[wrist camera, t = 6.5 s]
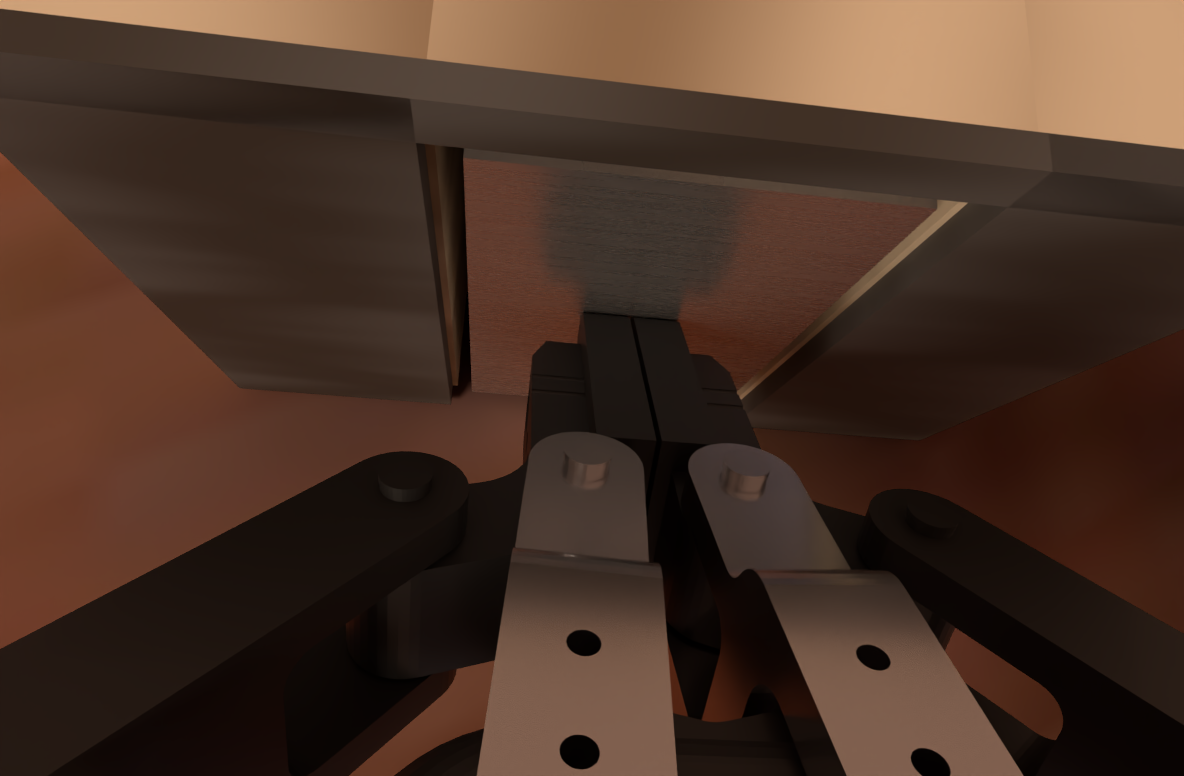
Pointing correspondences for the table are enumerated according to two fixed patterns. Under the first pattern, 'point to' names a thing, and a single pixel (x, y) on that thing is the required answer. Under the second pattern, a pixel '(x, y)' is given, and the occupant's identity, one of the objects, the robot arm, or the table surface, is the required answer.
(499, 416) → the table surface
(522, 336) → the peg
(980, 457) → the table surface
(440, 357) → the socket block
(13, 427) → the table surface
